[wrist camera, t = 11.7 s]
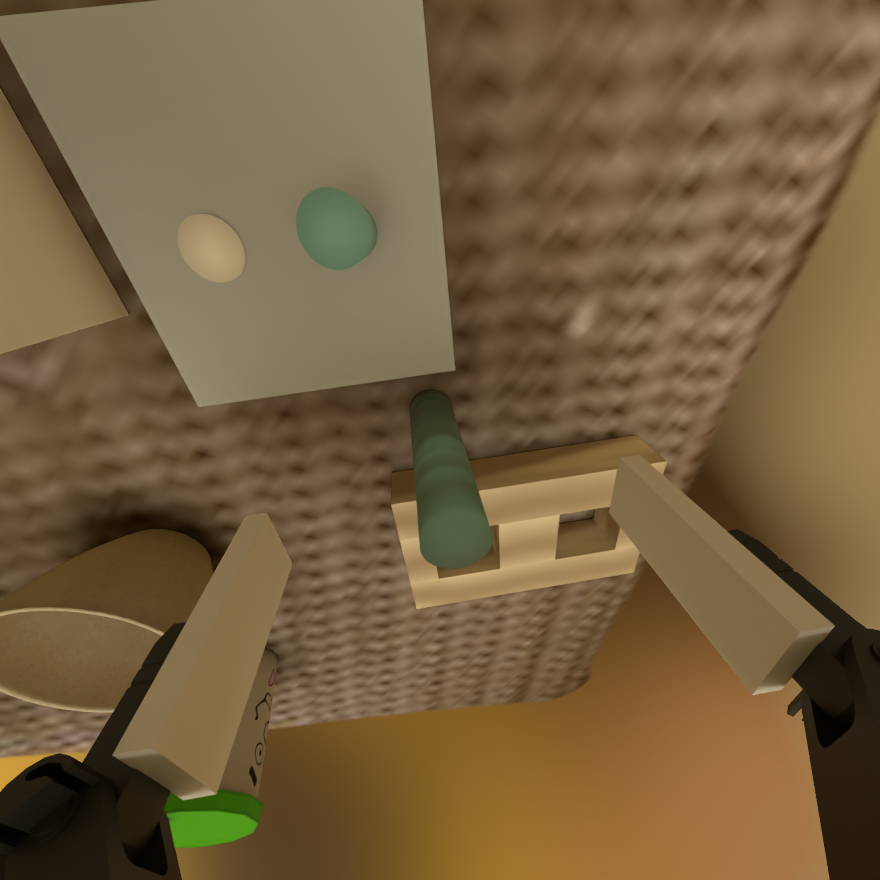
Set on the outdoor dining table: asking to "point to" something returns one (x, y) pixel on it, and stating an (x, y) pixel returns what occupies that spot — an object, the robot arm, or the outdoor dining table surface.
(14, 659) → the flower pot
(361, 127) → the board
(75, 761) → the robot arm
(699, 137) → the outdoor dining table surface
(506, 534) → the board
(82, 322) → the block
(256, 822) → the cup
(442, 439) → the peg
